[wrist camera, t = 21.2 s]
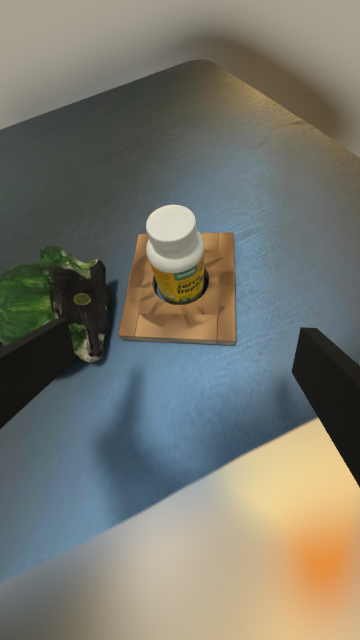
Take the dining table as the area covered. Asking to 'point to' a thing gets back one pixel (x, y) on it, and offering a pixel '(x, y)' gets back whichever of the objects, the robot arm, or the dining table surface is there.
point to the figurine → (57, 300)
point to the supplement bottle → (176, 254)
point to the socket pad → (191, 319)
